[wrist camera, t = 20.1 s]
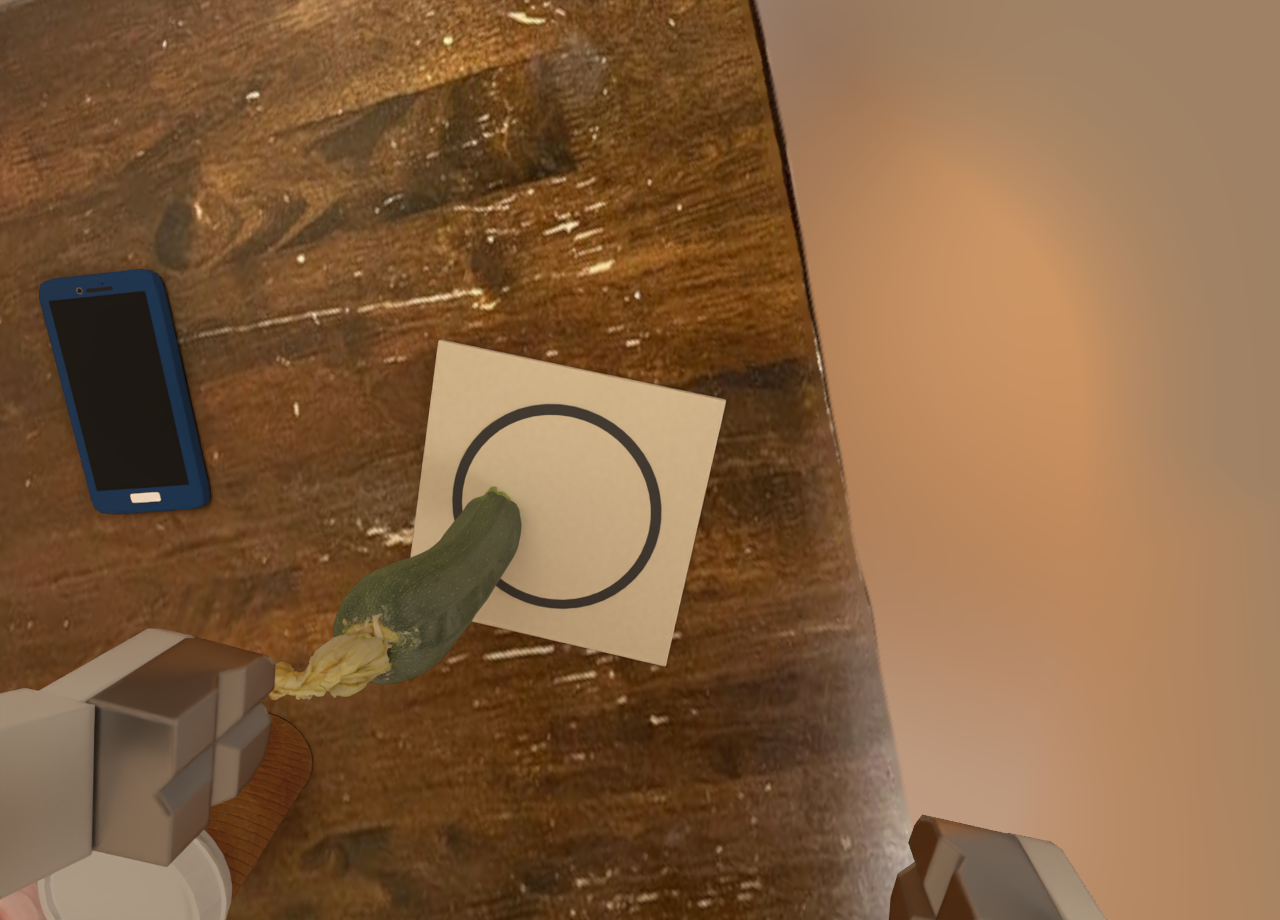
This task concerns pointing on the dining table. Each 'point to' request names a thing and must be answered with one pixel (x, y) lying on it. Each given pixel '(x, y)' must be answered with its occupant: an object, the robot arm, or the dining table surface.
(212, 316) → the dining table surface
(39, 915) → the cupcake
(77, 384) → the cell phone
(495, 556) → the vegetable
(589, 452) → the board
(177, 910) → the disposable coffee cup
